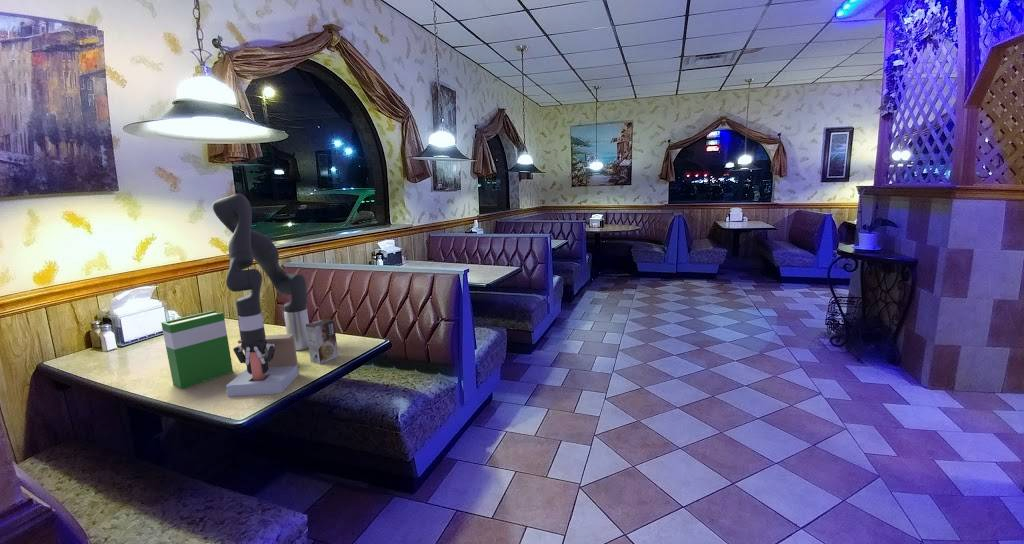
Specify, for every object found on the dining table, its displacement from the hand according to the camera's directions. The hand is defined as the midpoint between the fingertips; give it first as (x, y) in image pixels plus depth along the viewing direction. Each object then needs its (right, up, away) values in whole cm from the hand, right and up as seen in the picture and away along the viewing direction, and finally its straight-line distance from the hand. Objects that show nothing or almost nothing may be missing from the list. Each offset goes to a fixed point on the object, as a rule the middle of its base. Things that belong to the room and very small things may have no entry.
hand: (258, 372), depth 163 cm
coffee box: (+13, 0, +27) cm, 29 cm away
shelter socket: (0, -5, +4) cm, 7 cm away
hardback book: (-28, -5, +12) cm, 31 cm away
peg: (0, -4, +1) cm, 4 cm away
